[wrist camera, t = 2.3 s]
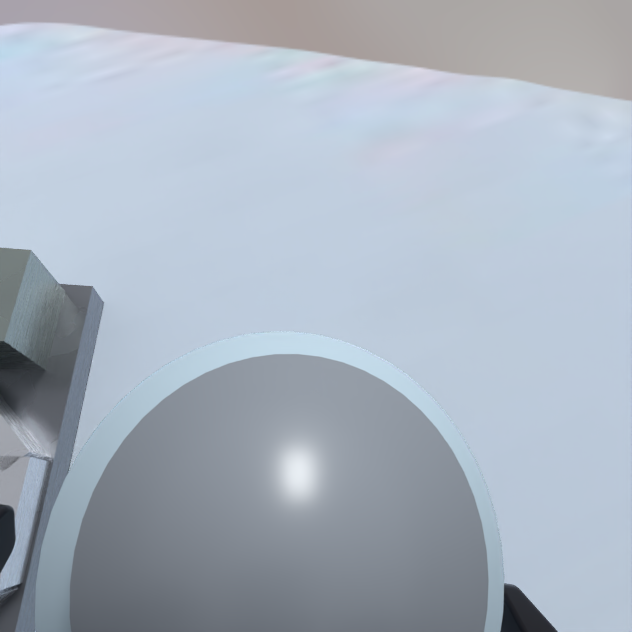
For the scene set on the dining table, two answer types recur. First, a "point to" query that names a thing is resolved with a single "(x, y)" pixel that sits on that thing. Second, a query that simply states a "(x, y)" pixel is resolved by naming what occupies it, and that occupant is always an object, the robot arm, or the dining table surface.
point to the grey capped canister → (273, 503)
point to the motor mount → (37, 409)
